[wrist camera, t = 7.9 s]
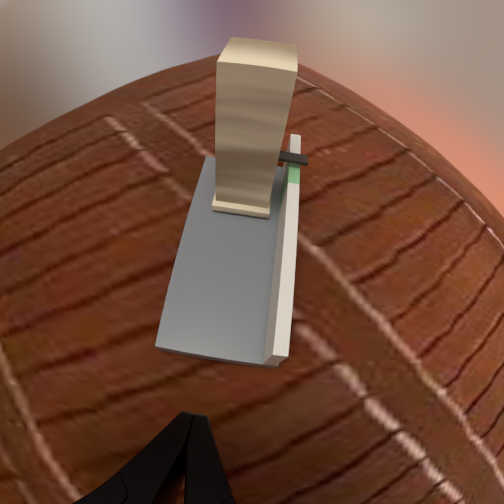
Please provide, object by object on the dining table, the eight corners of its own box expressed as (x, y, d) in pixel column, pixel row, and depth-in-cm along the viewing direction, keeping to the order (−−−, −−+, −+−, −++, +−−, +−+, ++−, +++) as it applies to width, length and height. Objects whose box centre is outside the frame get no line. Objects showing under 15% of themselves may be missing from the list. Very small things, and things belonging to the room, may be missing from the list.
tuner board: (274, 368, 19) (291, 356, 15) (159, 349, 19) (139, 331, 14) (290, 180, 28) (302, 136, 23) (206, 167, 27) (205, 121, 23)
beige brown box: (293, 222, 23) (341, 85, 12) (211, 210, 23) (210, 65, 12) (296, 176, 26) (332, 51, 15) (223, 165, 25) (229, 34, 15)
